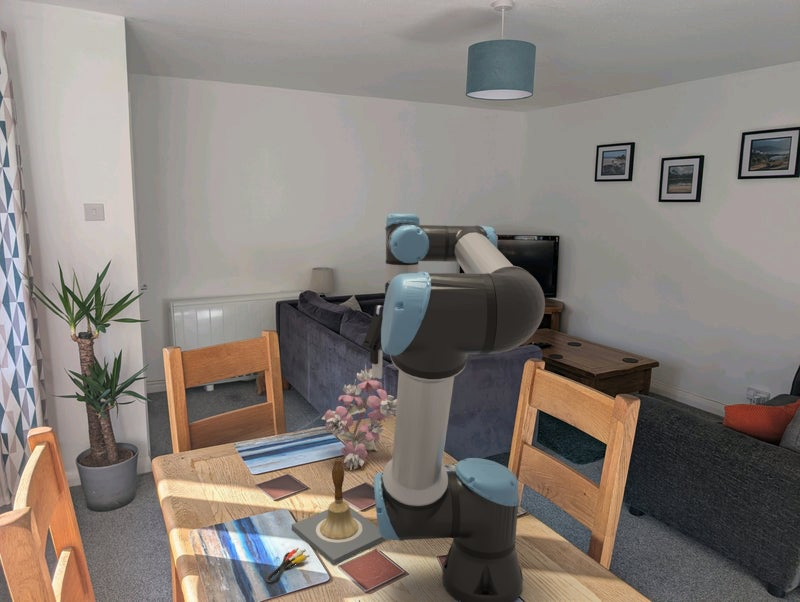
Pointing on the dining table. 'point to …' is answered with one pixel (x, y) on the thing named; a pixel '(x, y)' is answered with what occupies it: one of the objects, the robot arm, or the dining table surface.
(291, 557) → the composite cable
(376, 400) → the flower
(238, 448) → the dining table surface
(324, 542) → the board
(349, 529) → the hand bell
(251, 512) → the dining table surface
